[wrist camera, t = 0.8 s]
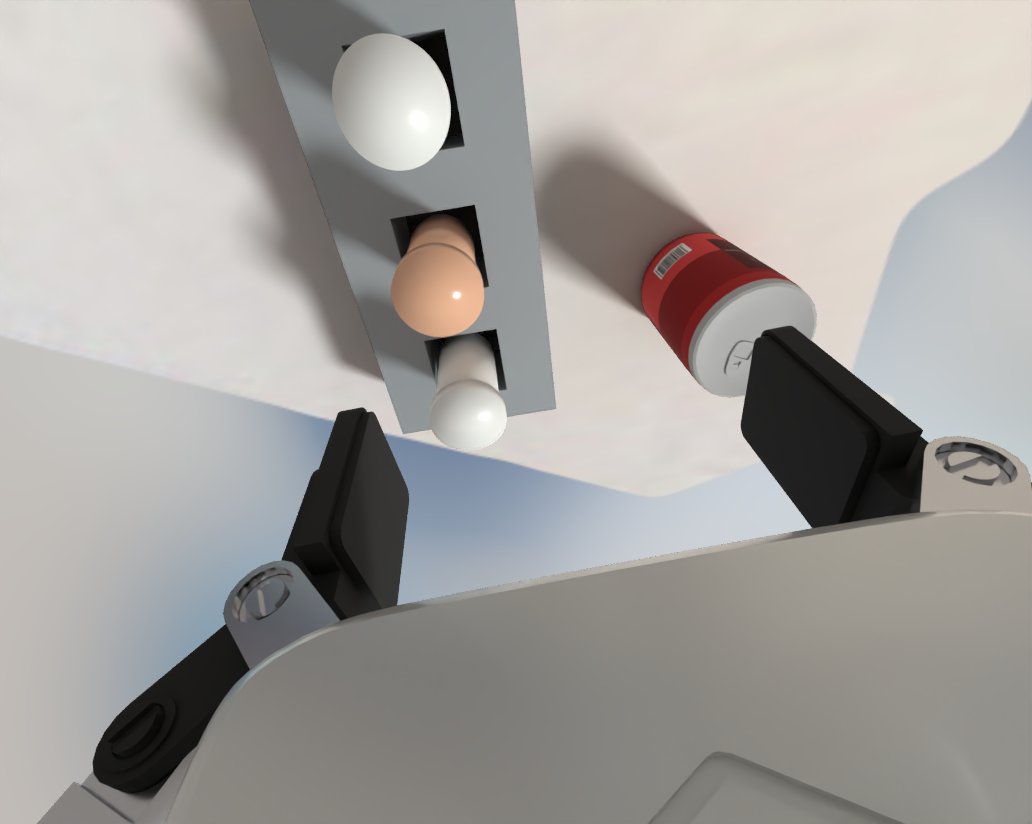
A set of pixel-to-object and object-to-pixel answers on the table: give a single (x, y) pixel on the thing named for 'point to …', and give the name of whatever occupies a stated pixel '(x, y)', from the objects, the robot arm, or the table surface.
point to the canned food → (719, 307)
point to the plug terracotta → (438, 279)
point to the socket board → (425, 184)
